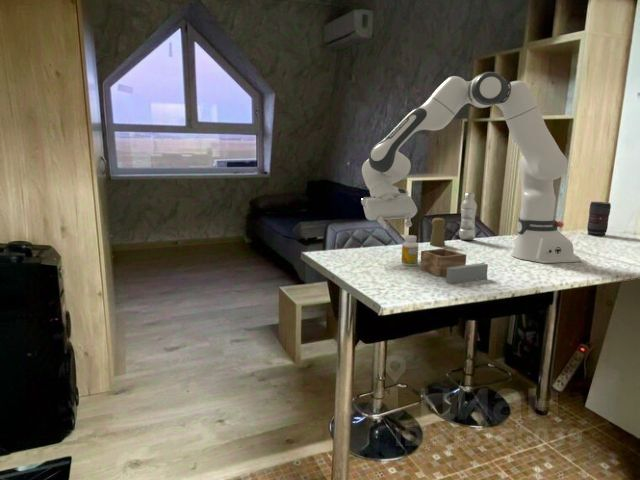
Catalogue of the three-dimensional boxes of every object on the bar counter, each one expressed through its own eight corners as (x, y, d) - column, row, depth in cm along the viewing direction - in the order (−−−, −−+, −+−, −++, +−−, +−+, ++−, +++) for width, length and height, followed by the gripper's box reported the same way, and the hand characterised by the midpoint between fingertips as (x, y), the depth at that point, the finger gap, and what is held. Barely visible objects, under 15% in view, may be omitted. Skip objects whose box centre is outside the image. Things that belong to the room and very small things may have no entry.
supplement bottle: (399, 262, 163) (400, 234, 161) (414, 261, 163) (416, 234, 161) (403, 266, 157) (404, 237, 155) (419, 265, 158) (420, 237, 156)
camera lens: (608, 237, 208) (613, 203, 205) (587, 236, 210) (592, 202, 207) (604, 234, 215) (609, 201, 212) (584, 232, 218) (588, 200, 215)
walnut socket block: (420, 268, 154) (421, 251, 153) (444, 265, 158) (445, 248, 157) (439, 276, 145) (441, 257, 144) (465, 273, 149) (466, 254, 148)
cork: (445, 246, 187) (447, 219, 185) (429, 246, 188) (431, 219, 186) (444, 243, 193) (446, 217, 191) (429, 243, 194) (430, 216, 192)
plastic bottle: (472, 242, 196) (476, 194, 192) (456, 240, 199) (459, 193, 195) (476, 239, 201) (480, 193, 197) (460, 237, 205) (463, 192, 201)
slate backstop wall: (446, 282, 139) (446, 267, 138) (481, 276, 145) (483, 262, 144) (450, 284, 138) (451, 269, 137) (486, 278, 143) (487, 264, 142)
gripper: (362, 191, 165) (376, 223, 158) (410, 189, 173) (425, 219, 166) (356, 203, 170) (369, 234, 163) (403, 200, 178) (417, 230, 171)
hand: (398, 227), depth 165 cm, fingers open, 8 cm apart
